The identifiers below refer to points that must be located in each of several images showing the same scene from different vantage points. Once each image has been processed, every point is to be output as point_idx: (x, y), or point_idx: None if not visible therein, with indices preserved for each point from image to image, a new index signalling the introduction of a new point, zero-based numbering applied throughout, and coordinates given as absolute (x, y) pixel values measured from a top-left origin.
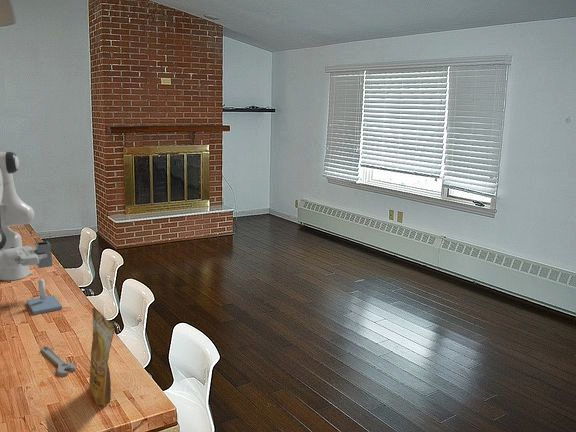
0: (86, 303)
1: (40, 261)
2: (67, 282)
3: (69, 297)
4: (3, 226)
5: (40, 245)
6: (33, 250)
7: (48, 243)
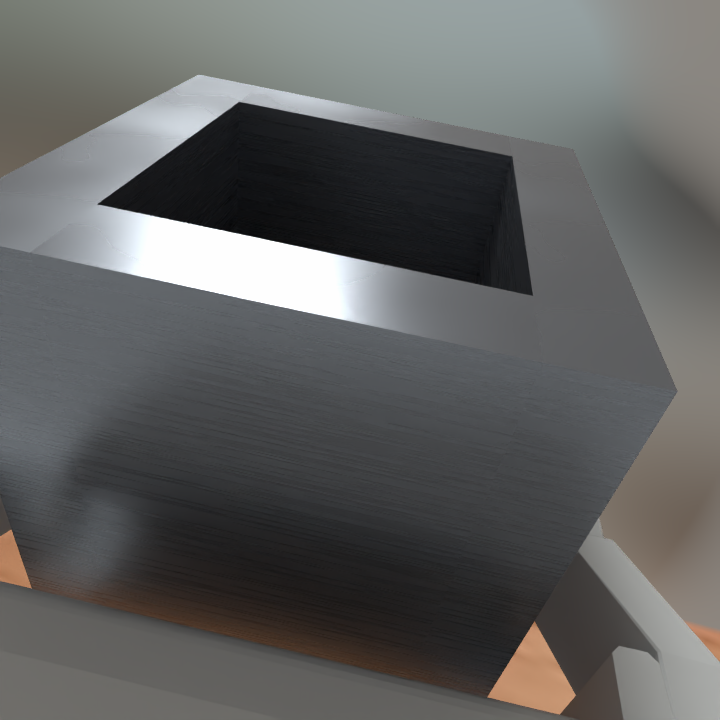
0: (713, 638)
1: None
2: None
3: None
4: None
5: (616, 286)
6: (64, 602)
7: (463, 137)
